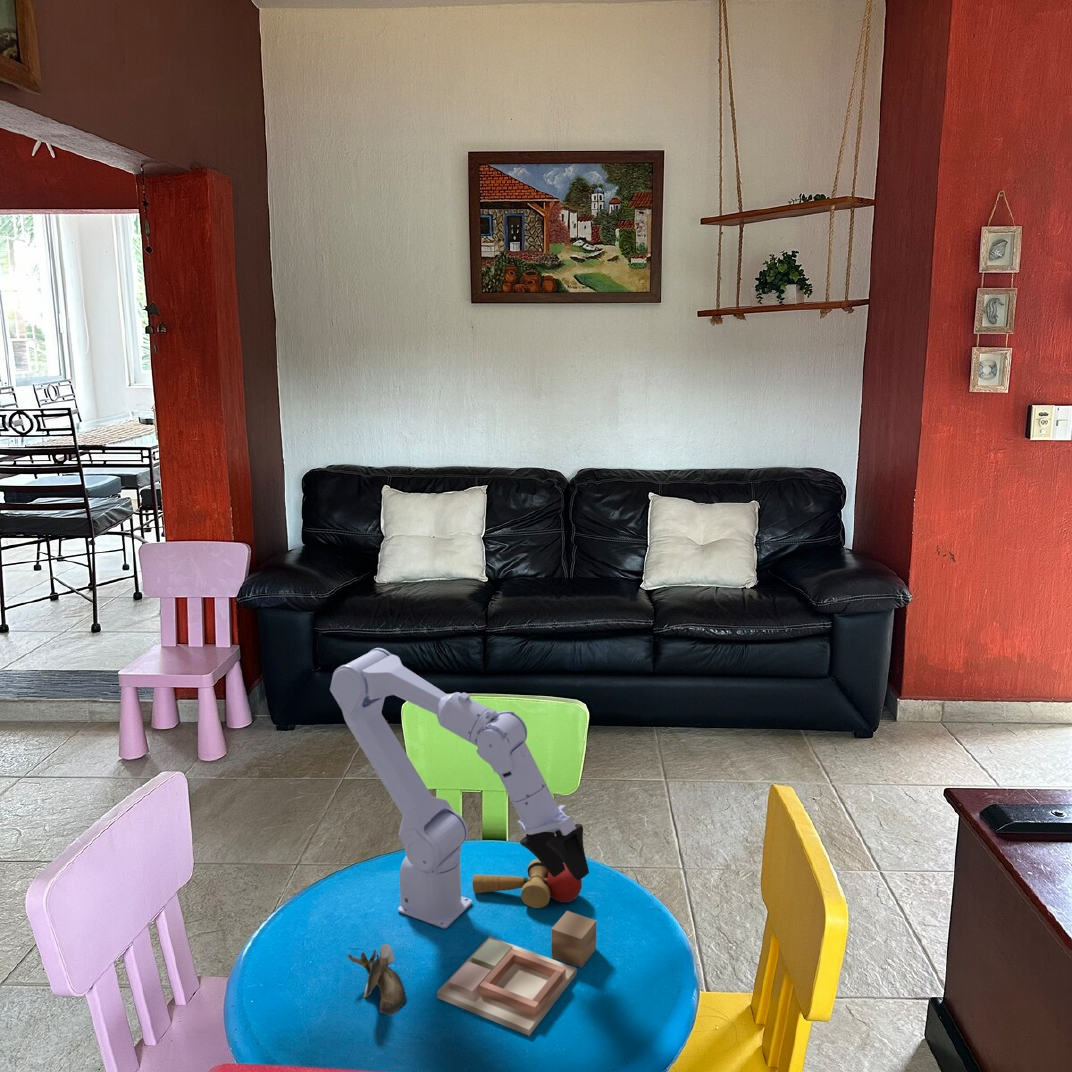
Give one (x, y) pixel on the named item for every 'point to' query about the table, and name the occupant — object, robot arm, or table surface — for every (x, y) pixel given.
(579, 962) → the walnut block
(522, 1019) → the puzzle board
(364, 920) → the table surface
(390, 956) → the eagle figurine
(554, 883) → the kendama
